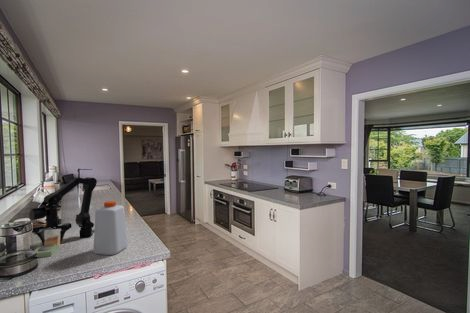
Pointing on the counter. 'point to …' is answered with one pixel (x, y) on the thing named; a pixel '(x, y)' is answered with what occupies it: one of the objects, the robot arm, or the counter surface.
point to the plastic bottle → (110, 229)
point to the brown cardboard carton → (52, 240)
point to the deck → (47, 249)
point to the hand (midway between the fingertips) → (52, 241)
